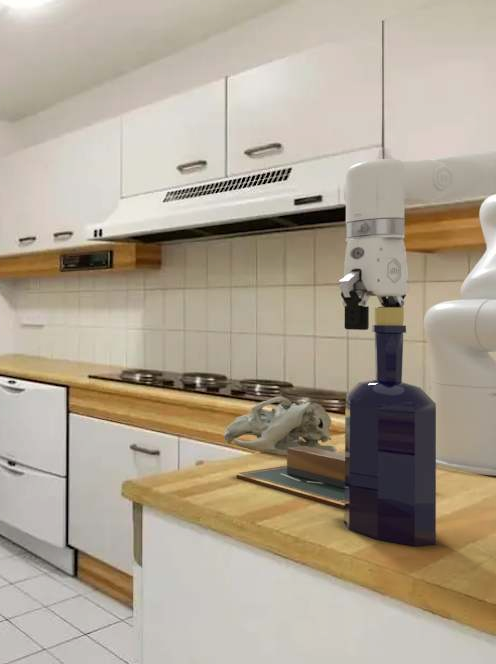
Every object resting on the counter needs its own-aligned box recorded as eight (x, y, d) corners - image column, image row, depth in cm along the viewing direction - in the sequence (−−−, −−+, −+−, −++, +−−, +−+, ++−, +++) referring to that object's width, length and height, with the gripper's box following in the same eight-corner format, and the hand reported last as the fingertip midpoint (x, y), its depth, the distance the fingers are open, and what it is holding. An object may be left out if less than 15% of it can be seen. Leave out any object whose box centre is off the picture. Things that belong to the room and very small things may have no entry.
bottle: (459, 549, 68) (460, 307, 67) (372, 543, 69) (373, 307, 69) (401, 521, 77) (402, 307, 76) (325, 516, 78) (326, 307, 78)
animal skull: (224, 472, 116) (202, 415, 116) (241, 447, 124) (221, 394, 124) (330, 473, 102) (306, 408, 102) (342, 444, 110) (320, 385, 110)
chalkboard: (317, 466, 104) (317, 460, 104) (429, 493, 89) (429, 486, 89) (236, 478, 96) (236, 472, 96) (344, 510, 81) (344, 502, 81)
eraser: (303, 470, 97) (303, 445, 97) (365, 486, 88) (365, 458, 88) (286, 473, 95) (286, 447, 95) (348, 489, 87) (348, 461, 87)
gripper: (370, 226, 90) (369, 330, 90) (430, 231, 96) (430, 329, 96) (318, 232, 97) (317, 329, 97) (377, 237, 103) (377, 328, 103)
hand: (373, 329), depth 96 cm, fingers open, 9 cm apart
